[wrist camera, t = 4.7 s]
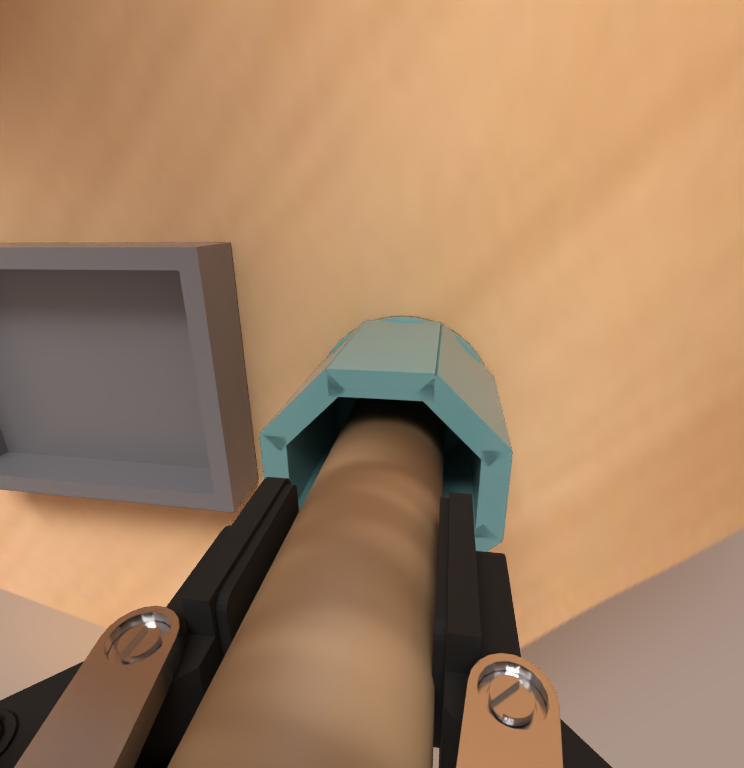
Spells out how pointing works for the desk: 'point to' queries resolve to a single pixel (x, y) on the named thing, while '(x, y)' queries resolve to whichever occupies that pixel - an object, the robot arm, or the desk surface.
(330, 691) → the dowel
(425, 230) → the desk surface
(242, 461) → the tray
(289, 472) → the cup
